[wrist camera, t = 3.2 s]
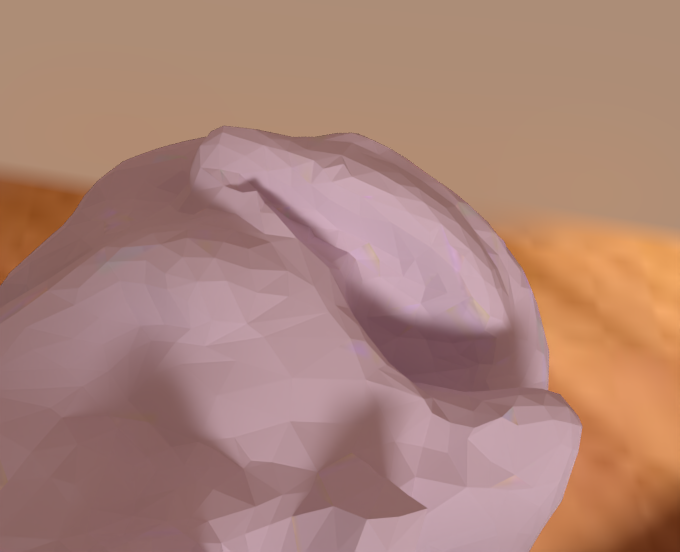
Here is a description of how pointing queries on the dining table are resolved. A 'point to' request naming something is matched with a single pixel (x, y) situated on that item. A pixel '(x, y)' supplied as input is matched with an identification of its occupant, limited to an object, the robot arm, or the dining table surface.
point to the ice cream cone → (276, 363)
